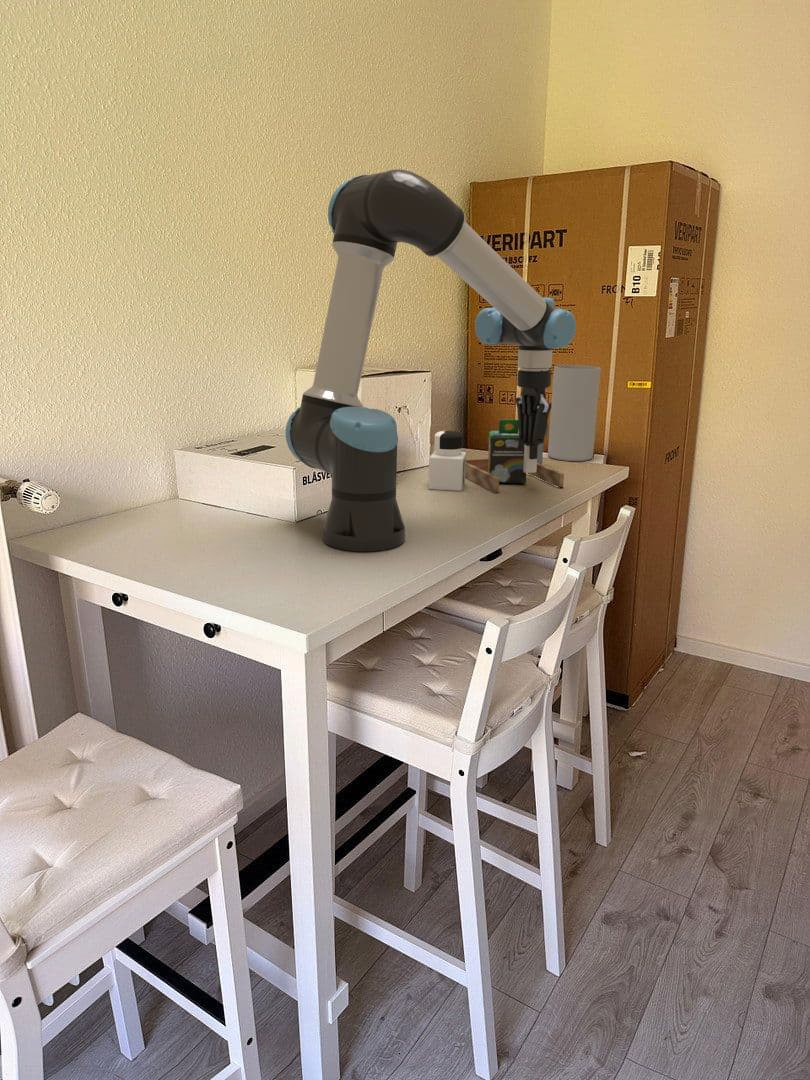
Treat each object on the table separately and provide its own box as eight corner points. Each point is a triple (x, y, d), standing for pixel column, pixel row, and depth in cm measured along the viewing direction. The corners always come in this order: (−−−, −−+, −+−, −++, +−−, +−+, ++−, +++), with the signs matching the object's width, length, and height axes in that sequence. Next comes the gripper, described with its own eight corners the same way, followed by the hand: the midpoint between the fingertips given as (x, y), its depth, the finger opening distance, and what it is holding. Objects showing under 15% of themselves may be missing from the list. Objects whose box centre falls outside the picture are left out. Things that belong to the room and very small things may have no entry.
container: (465, 483, 187) (467, 430, 183) (461, 491, 179) (463, 435, 176) (433, 482, 188) (434, 428, 184) (428, 489, 181) (429, 433, 177)
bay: (562, 488, 184) (564, 473, 183) (494, 493, 178) (495, 478, 177) (520, 469, 203) (521, 456, 202) (457, 473, 197) (458, 460, 196)
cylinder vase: (543, 453, 225) (549, 364, 218) (585, 453, 226) (593, 365, 219) (553, 461, 213) (560, 369, 206) (598, 462, 214) (607, 369, 207)
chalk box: (523, 476, 195) (527, 417, 191) (526, 483, 186) (530, 421, 182) (486, 475, 195) (489, 416, 192) (488, 482, 187) (490, 420, 183)
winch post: (545, 468, 205) (549, 407, 200) (527, 469, 203) (531, 408, 198) (535, 464, 209) (540, 404, 205) (518, 465, 208) (522, 405, 203)
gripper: (564, 371, 170) (557, 476, 177) (535, 366, 182) (530, 465, 189) (533, 372, 168) (528, 479, 175) (506, 367, 179) (503, 467, 187)
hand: (529, 471), depth 182 cm, fingers closed
